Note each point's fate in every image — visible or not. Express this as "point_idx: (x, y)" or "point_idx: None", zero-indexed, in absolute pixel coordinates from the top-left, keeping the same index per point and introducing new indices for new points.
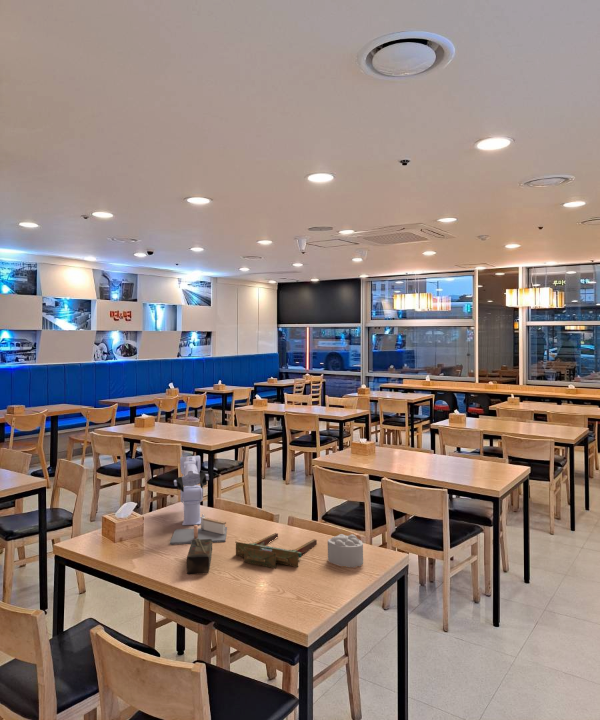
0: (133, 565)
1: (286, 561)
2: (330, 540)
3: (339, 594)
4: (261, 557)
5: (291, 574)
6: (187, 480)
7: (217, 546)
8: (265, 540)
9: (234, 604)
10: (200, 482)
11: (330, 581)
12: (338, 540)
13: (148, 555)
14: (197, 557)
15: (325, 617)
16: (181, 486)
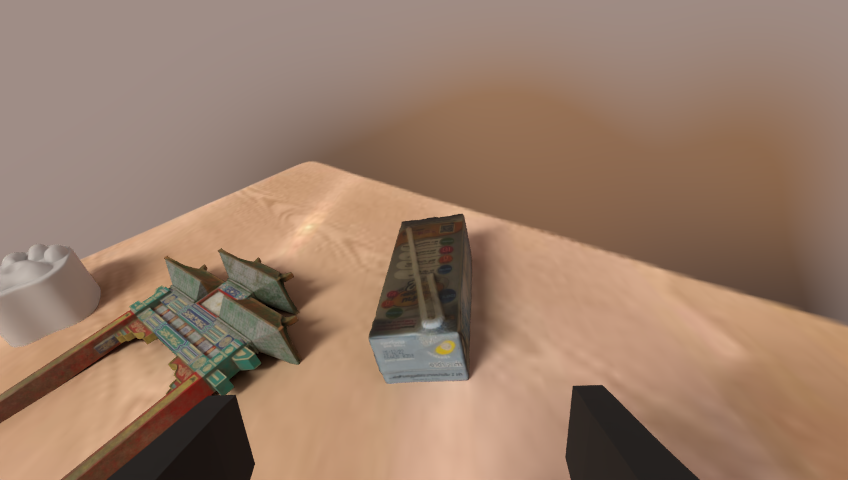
0: (692, 303)
1: (206, 268)
2: (49, 271)
3: (206, 212)
4: (256, 265)
5: None
6: None
7: (344, 463)
8: (129, 430)
9: (377, 186)
10: (205, 413)
11: (182, 240)
12: (55, 245)
13: (690, 388)
14: (433, 218)
15: (269, 177)
16: (611, 395)
